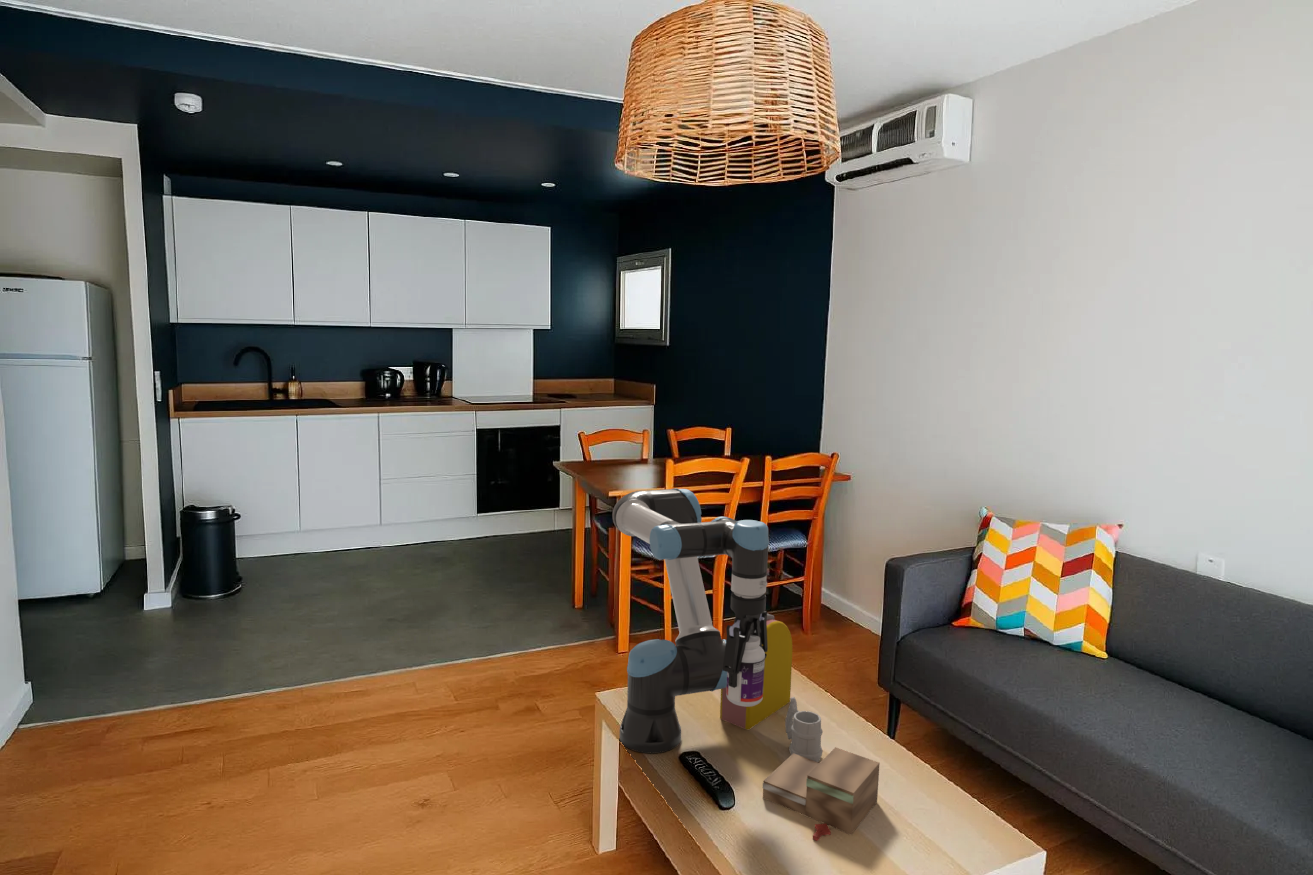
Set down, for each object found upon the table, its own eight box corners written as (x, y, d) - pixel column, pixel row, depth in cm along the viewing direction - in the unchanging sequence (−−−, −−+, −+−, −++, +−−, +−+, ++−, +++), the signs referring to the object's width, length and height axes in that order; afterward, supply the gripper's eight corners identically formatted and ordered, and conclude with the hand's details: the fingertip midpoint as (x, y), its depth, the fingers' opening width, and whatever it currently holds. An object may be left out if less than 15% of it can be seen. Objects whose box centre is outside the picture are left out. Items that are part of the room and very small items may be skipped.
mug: (801, 768, 180) (804, 719, 178) (772, 743, 190) (774, 696, 189) (828, 760, 183) (831, 712, 181) (798, 737, 194) (800, 691, 192)
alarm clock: (762, 690, 218) (766, 599, 215) (791, 701, 212) (795, 607, 209) (718, 718, 202) (721, 620, 199) (748, 730, 197) (752, 629, 193)
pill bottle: (718, 698, 172) (720, 636, 170) (743, 688, 178) (745, 627, 176) (745, 712, 166) (748, 647, 164) (770, 701, 172) (773, 638, 170)
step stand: (748, 811, 163) (750, 771, 162) (792, 769, 179) (794, 732, 178) (838, 850, 151) (841, 807, 150) (877, 801, 167) (879, 762, 166)
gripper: (738, 610, 158) (734, 715, 161) (786, 584, 175) (782, 680, 178) (707, 601, 163) (704, 704, 166) (757, 577, 179) (753, 671, 182)
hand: (744, 692), depth 172 cm, fingers closed on pill bottle, 8 cm apart
